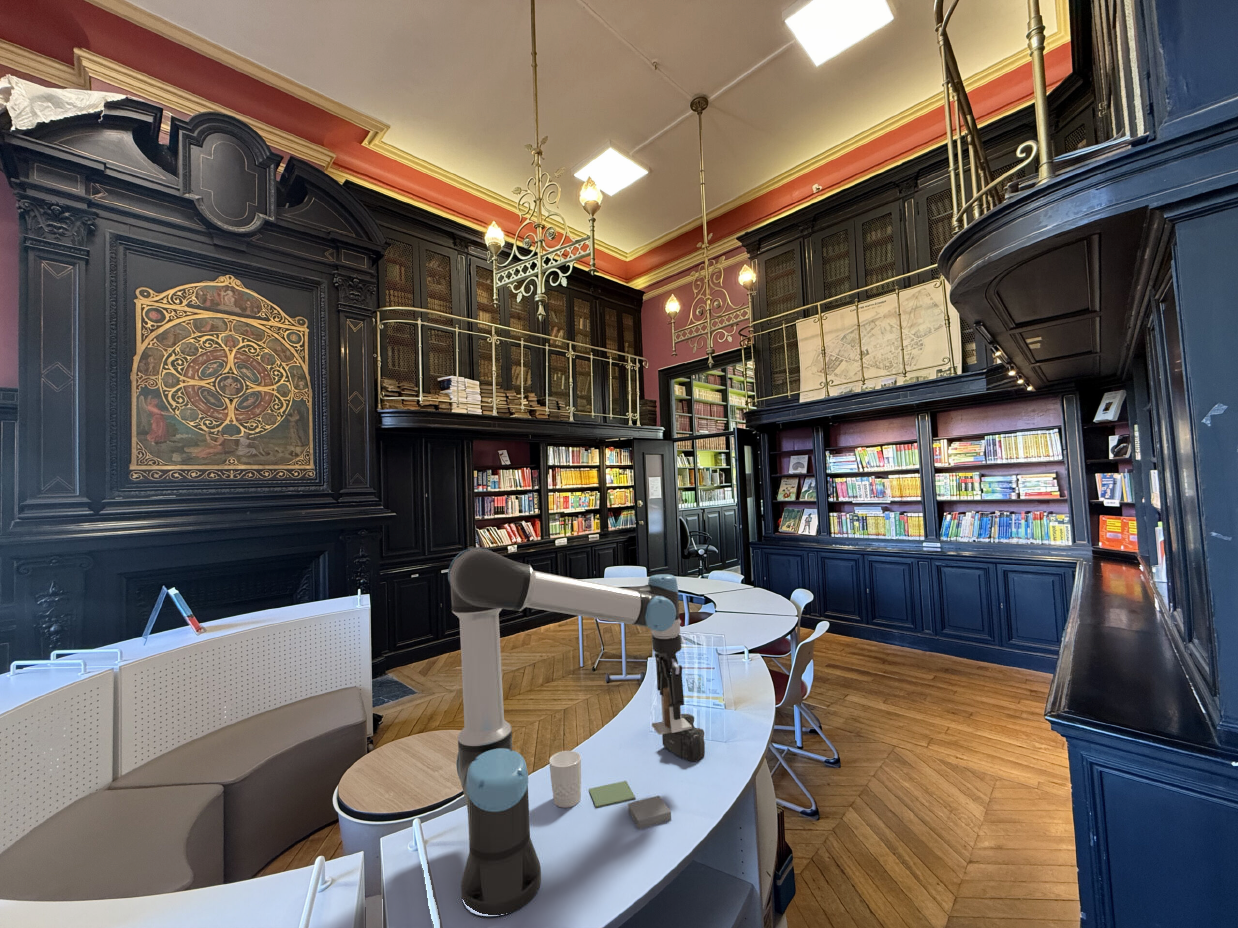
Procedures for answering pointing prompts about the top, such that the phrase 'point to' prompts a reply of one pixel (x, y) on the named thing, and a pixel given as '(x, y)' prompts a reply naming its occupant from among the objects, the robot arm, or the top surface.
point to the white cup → (566, 778)
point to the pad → (611, 794)
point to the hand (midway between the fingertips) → (672, 725)
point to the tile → (649, 812)
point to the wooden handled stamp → (668, 717)
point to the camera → (686, 741)
